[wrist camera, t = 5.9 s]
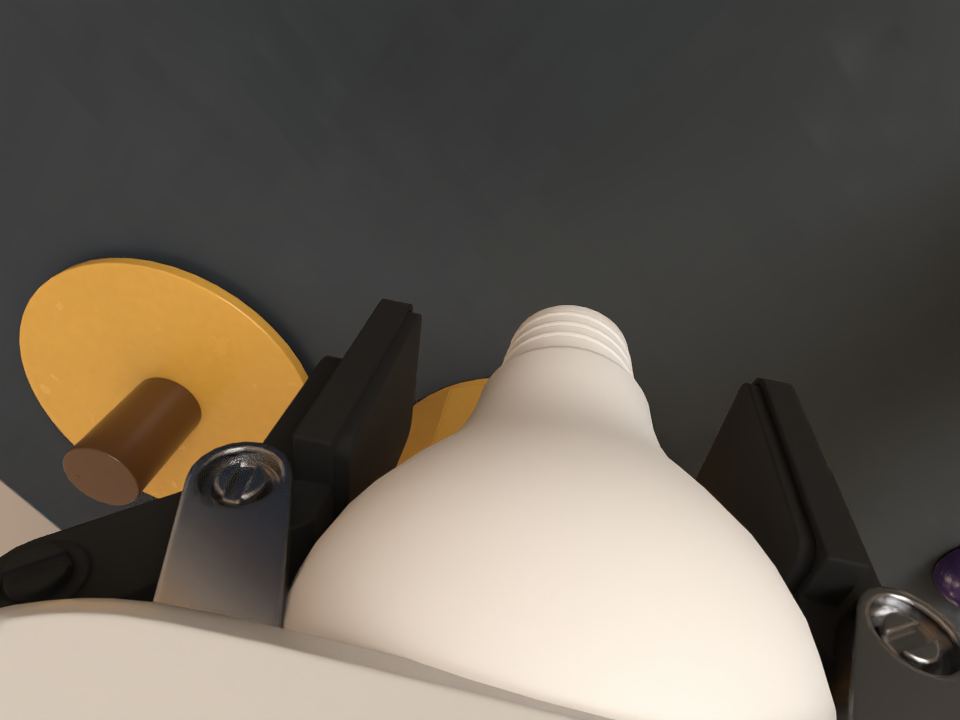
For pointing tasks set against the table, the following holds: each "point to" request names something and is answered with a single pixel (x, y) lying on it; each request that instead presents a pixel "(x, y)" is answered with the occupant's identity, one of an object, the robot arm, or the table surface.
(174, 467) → the tin lid
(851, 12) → the table surface
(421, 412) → the tin
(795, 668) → the lightbulb
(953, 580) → the toy lamp
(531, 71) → the table surface
